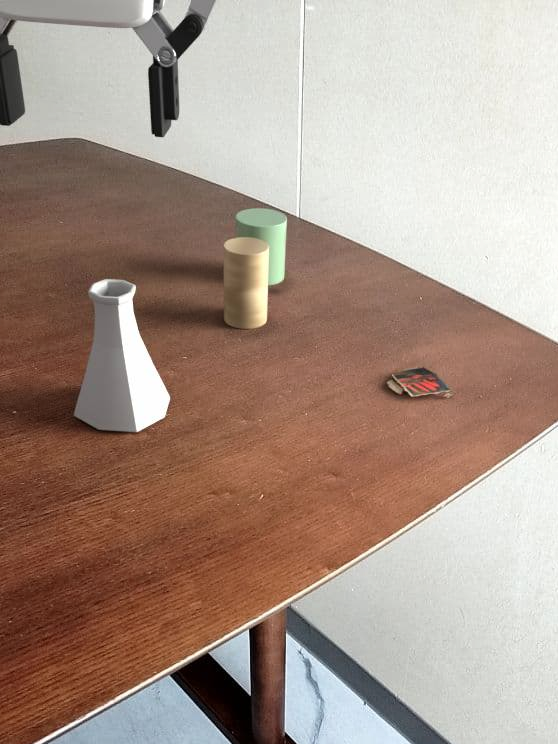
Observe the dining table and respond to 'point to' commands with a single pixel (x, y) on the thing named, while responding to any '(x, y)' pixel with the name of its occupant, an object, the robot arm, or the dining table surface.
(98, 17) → the robot arm
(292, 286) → the dining table surface
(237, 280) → the birch peg
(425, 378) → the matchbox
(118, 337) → the flask
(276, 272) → the mint green cylinder
